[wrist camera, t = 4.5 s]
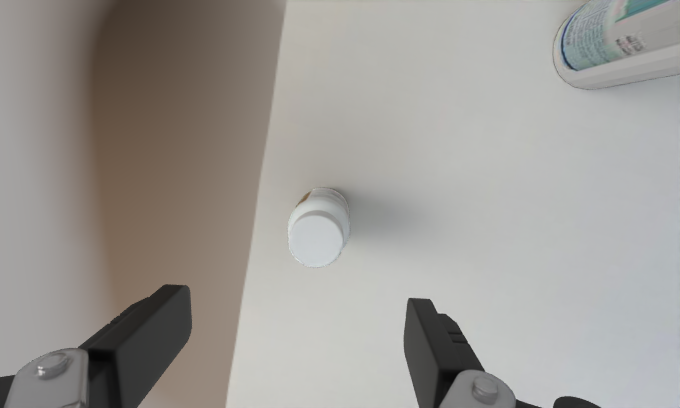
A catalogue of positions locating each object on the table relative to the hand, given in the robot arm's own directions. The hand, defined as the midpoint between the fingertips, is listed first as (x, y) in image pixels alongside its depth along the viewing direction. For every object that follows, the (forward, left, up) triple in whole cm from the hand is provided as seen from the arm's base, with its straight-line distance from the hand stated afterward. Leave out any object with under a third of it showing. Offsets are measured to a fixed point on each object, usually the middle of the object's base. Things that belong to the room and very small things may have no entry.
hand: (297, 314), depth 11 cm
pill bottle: (0, 0, -16) cm, 16 cm away
